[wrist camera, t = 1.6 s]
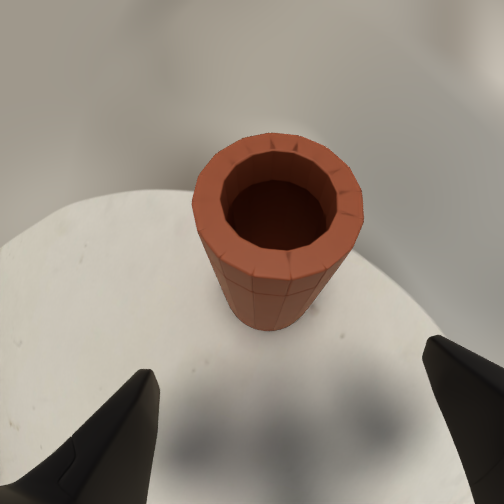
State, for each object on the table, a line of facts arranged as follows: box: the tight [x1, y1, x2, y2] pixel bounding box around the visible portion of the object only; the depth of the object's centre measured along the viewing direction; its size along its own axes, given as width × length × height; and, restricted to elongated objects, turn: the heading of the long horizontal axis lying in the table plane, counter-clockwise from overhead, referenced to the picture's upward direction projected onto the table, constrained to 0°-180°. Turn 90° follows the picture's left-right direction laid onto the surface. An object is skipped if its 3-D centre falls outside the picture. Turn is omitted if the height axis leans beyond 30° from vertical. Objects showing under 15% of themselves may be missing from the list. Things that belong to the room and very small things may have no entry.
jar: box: [192, 133, 364, 331], centre depth 16 cm, size 6×6×12 cm
